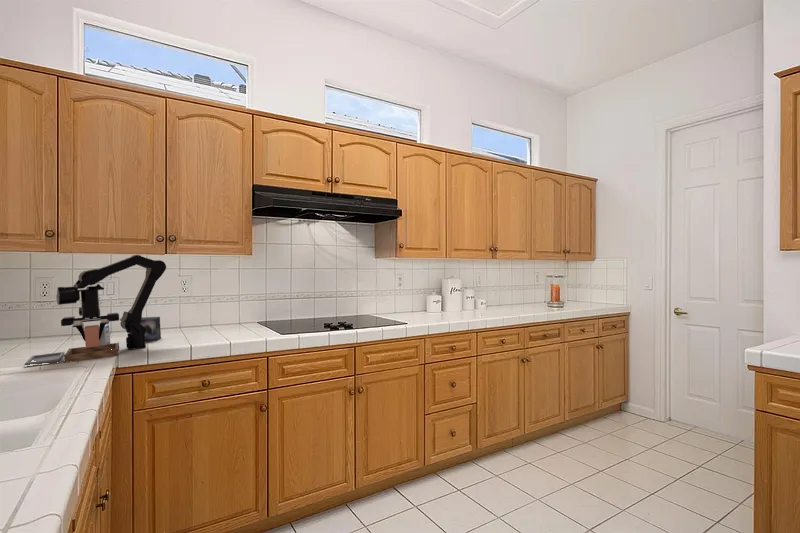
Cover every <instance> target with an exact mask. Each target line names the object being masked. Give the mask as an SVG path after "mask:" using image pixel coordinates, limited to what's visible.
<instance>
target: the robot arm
mask: <svg viewBox="0 0 800 533" xmlns="http://www.w3.org/2000/svg"><path fill="white" fill-rule="evenodd" d="M134 266H140V267H142V268H143V269H146V270H145V279H144V280H143V283H142V284H141V286H140V289H139V291H138V293H137V295H136V297H135V300H134V301H133V304H132V306H131V308H130V309H129V310H128V311H123V314H122V317H121V318H120V314H119V313H118V312H109V313H107V314H106V315H101V309H100V297H99V291H103V290H105V287H103V286H101V283H100V284H99V282H102V280H104V279H105V278H107V277H109V276H111V275H114V274H116V273H118V272H122V271H124V270H126V269H128V268H131V267H134ZM166 270H167V265H166V263H165V262H164V261H163V260H160V259H159V260H158V259H157V260H155V259H152V258H147V257H144V256H142V255H139V254H135V255H134V254H133V255H131V256H130V257H126V258H125V259H121V260H119V261H116V262H113V263H111V264H108V265H105V266H103V267H97V268H92V269H87V270H83V271H81V272H80V273H79V275H78V280H77V281H76V282H75V283H74V285H73V286H57V287H56V288H57V290H56V295H55V296H56V298H55V299H56V302H57V306H60V305H71V304H77V302H79V301H80V302H81V306H80V307H78V315H79V316H80V317H75V316H65V317H63V318H62V319H61V320H60V325H61V327H66V326H72V328H76V329H77V331H78V332H79V333H80V336H81V337H82V340H83V341H84V342H85V329H84V328H85V326H84V323H88V322H98V321H99V326H100V328H99V340H100V339H101V335H102V332H103V329H104V327H105V325H109V323H110V322H118V321H120V327H121V328H122V329H123V330H125V331H126V333H127V336H126V338H125V341H126V342H125V343H126V344H125V345H126V348H127V350H129V349H130V350H134V349H135V350H136V349H144V348H146V347H147V345H146V342H145V333H146V330H147V329H146V328H145V327H143V326H142V325H141V320H142V318H143V310H144V309H145V306H146V304H147V302H148V300H149V298H150V295H151V294H152V292H153V289H154V287H155V284H156V283H157V281H158V280H159V279H160V278H161V277H162V275H163V274H164V273H165V271H166ZM130 350H129V351H130Z"/></svg>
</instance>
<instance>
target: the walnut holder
mask: <svg viewBox="0 0 800 533" xmlns="http://www.w3.org/2000/svg"><path fill="white" fill-rule="evenodd" d="M111 349H112V350H111ZM118 351H120V343H119V342H114V343H113V342H112V343H111V342H110V344H103V345H99V346H96V347H88V348H86V346H79V347H71V348H68V350H67V351H66V352H65V355H64V357H63V359H64V363H70V361H72V362H79V361H88V360H94V359H100V358H101V359H102V358H107V357H109V358H110V357H116V356H117V357H118V356H119V353H118Z"/></svg>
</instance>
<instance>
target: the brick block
mask: <svg viewBox="0 0 800 533" xmlns="http://www.w3.org/2000/svg"><path fill="white" fill-rule="evenodd" d="M99 326H100V324H95V325H85V326H84V331H85V341H84V342H85V343H84V344H85V347H86V348H88V347H96V346H99V345H100V340H99Z"/></svg>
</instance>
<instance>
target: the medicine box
mask: <svg viewBox="0 0 800 533" xmlns="http://www.w3.org/2000/svg"><path fill="white" fill-rule="evenodd" d="M99 328H100V325H99ZM110 333H111V332H110V325H109V324H106V325H105V327H104V329H103V332H102V335H101V339H100V345H103V344H111V334H110Z"/></svg>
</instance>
